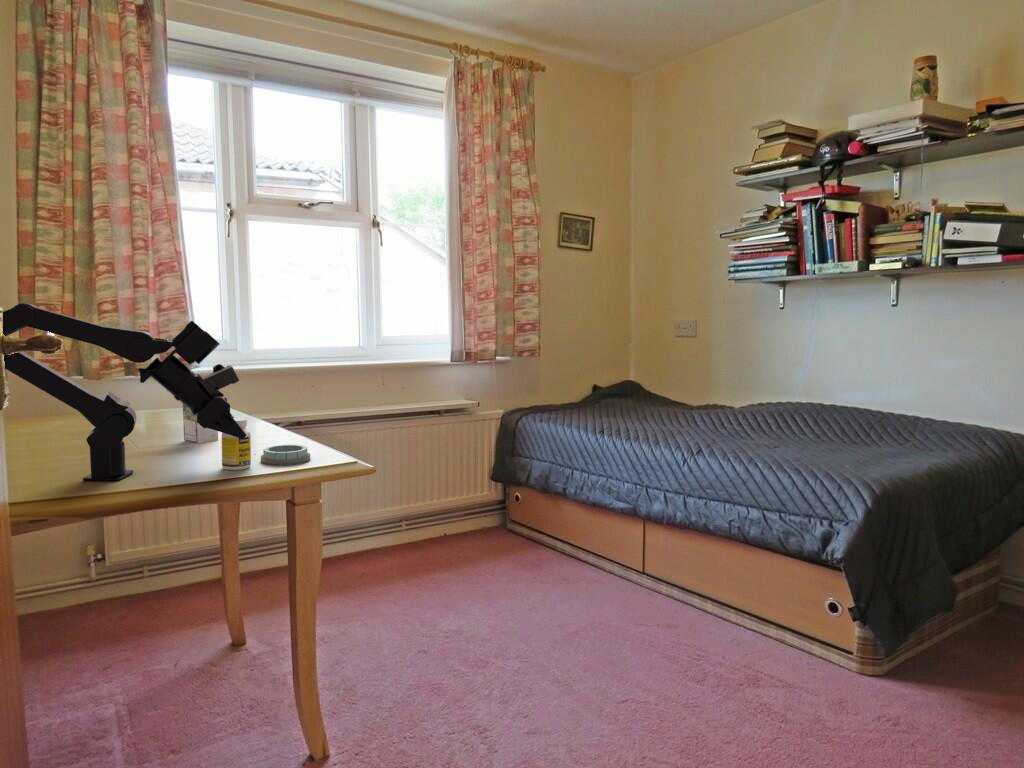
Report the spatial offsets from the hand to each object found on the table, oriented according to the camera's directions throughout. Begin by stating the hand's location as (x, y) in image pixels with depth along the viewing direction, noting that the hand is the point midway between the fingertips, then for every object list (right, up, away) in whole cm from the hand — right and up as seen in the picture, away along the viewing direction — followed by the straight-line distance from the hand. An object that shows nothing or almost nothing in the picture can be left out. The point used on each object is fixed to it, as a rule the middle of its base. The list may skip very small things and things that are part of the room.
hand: (243, 434), depth 143 cm
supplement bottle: (-1, -7, 0) cm, 7 cm away
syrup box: (-20, -4, +28) cm, 35 cm away
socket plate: (+6, -6, +8) cm, 11 cm away
